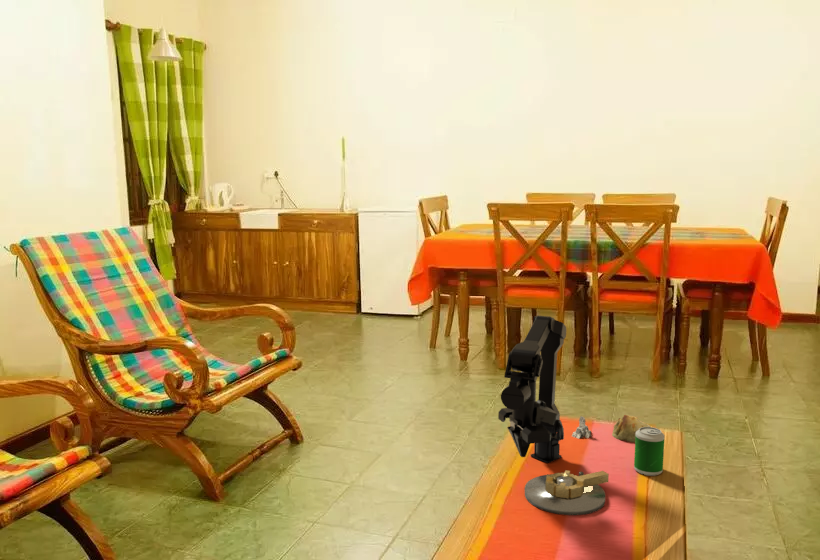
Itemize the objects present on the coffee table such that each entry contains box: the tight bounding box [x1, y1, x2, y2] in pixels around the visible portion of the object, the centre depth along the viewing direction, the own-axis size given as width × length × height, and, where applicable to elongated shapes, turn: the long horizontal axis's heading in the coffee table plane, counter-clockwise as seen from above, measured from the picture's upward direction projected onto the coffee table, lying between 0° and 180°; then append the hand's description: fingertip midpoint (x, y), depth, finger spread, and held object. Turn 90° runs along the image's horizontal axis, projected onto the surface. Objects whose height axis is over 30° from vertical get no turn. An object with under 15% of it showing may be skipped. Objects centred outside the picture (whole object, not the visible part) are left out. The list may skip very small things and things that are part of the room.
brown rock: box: [611, 414, 652, 443], centre depth 215 cm, size 14×12×8 cm
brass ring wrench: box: [545, 469, 609, 499], centre depth 180 cm, size 18×9×3 cm, turn 115°
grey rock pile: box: [571, 415, 592, 439], centre depth 214 cm, size 9×9×8 cm
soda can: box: [633, 426, 665, 477], centre depth 192 cm, size 8×8×12 cm
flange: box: [524, 471, 606, 516], centre depth 178 cm, size 20×20×4 cm
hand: (522, 456), depth 179 cm, fingers closed
